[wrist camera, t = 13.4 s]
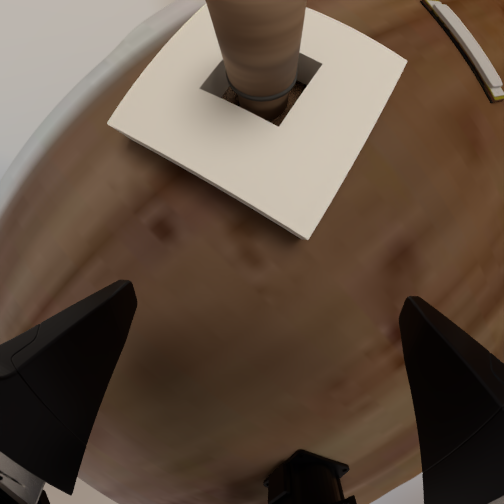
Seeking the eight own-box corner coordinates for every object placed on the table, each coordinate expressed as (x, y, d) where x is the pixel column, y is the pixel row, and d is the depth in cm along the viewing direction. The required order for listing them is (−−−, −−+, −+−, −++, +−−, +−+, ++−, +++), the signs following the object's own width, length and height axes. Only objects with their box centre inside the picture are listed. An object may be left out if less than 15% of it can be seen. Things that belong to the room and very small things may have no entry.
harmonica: (418, 3, 18) (424, -6, 16) (434, 4, 18) (440, -4, 16) (488, 104, 19) (498, 98, 17) (501, 101, 18) (510, 96, 16)
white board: (390, 83, 19) (407, 61, 15) (300, 239, 20) (308, 239, 16) (233, 10, 19) (228, -17, 15) (130, 139, 21) (106, 123, 17)
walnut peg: (303, 92, 20) (329, -31, 7) (273, 135, 20) (277, 18, 7) (253, 68, 20) (238, -55, 7) (222, 109, 20) (175, -8, 7)
